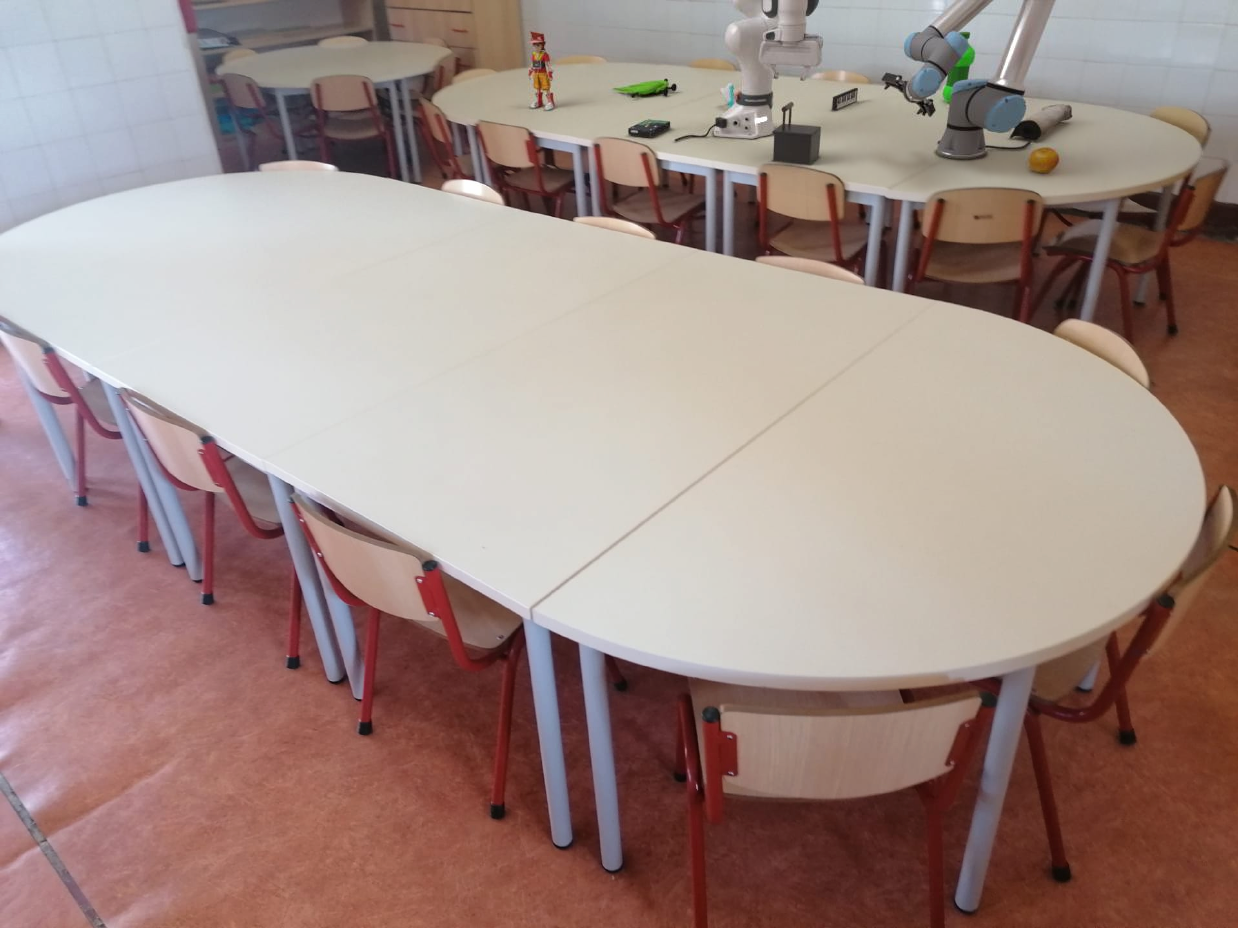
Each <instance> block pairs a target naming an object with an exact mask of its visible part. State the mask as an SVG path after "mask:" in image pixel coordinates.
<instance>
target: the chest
mask: <svg viewBox="0 0 1238 928" xmlns="http://www.w3.org/2000/svg"><path fill="white" fill-rule="evenodd" d="M821 134H822V129H821V130H819V131H818V132H817V133H816V134H814V135H813V136H812V137H807V136H795V135H783V134H773V151H772V152H773V153H772V162H779V163H780V162H781V163H786V164H787V163H788V164H799V165H810V166H811V164H813V162H814V161H816V160H817V159H818V158H820V146H821Z"/></svg>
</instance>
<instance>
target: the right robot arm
mask: <svg viewBox="0 0 1238 928" xmlns="http://www.w3.org/2000/svg"><path fill="white" fill-rule="evenodd" d="M993 1H994V0H955V1H953V3H952V4H951V5H950V6H948V8H946V9H945V10H944V11H943V12H942V13H941V14H940V15H939V16H937V18H936V19H934V20H933V21H932V22H931V23H930V24H929V25H928V26H927V27H926V28H924V29H923V30H922V31H915V32H912V33H910V34H909V35H908V36H907V38H906V39H905V41H904V44H903V52H904V55H905V56H906V57H907V58H909V59H911V60H913V61H916V62H921V63H924V64H923V65H922V66H921V68H919V71H918V72H917V73H916V74H914V76H912V77H911V78H910V79H908V80H903V75H901V74H894V73H891V72H885V74H884V75H883V76H882V78H881V81H882V82H884V84H885V86H884V88H883V89H884V90H888V89H889V88H894V89H896V90H897V91H899V93H901V94H902V95H903V98H904V99H905V100H906V101H907V102H908V103H910V104H915V105H917V106H918V107H919V109H918V110H917V111H916V115H918V116H919V115H922V116H923V117H925V116H926V114H927V116H928V117H929V118H932V116H933V115H934V114H935V112H937V110H936V107H935V104H934V99H932V98H930V97H932V96H933V95H935V94H936V93H937V92H938V91H939V89H940V87H941V85H942V83H943V82H944V81H945V80H946V79H947V77H948V74H949V73H950V71H951V70H952V69H953V68H954V67H955V65H956V64H957V63H958V62H959V60H960V59H962V56H963V55H964V54H965V52H966V51H967V49H968V48H969V44H970V43H969V40H968V41H967V40H966V38H965V37H963V36H962V35H961V34H959V32H961V30H963V28H965V27H966V26H967V25H968V24H969V23H970V22H972V20H974V19H975V17H977V16H978V15H979V14H981V12H982V11H983V10H984V9H986V8H987V7H988V6H989V5H990V4H991V3H992V2H993ZM1056 1H1057V0H1023V1H1022V4H1021V6H1020V9H1019V12H1018V14H1017V17H1016V20H1015V22H1014V25H1013V28H1012V30H1011V33H1010V35H1009V38H1008V41H1007V43H1006V46H1005V49H1004V51H1003V54H1002V57H1001V60H1000V62H999V65H998V67H997V70H996V73H995V75H994V76H993V77H991V78H990V79H989V78H968V80H961V81H957V82H956V83H955V84H954V85H953V88H952V92H951V98H950V103H949V106H948V113H947V119H946V127H945V130H944V133H943V134H942V136H941V139H939V140H938V141H937V143H936V144H937V149H936V153H937V154H938V155H939V156H940V157H943V158H947V159H953V160H974V159H980V158H982V157H984V156H985V155H986V150H987V149H995V150H1010V151H1011V150H1013V151H1015V150H1022V149H1025V148H1027V147H1028V146H1029V145H1031V142H1032V141H1028V142H1026V144H1024V145H1021V146H1014V147H1013V146H998V145H997V146H996V145H988V144H986V139H985V132H984V129H985V130H987V131H988V132H992V133H997V134H1004V133H1008V132H1010V131H1012V130H1014V128H1015V127H1016V126H1017V125H1018V124H1019V123H1020V122H1021V121H1023V120H1024V117H1025V115H1026V113H1027V112H1026V111H1027V105H1026V103H1027V102H1026V100H1025V98H1024V95H1025V92H1026V87H1025V85H1024V81H1025V79H1026V76H1027V74H1028V72H1029V69H1030V67H1031V64H1032V62H1033V59H1034V56H1035V54H1036V52H1037V49H1038V46H1039V43H1040V41H1041V39H1042V36H1043V33H1044V31H1045V29H1046V25H1047V24H1048V21H1049V19H1050V17H1051V14H1052V11H1053V8H1054V6H1055V3H1056Z"/></svg>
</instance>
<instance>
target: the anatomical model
mask: <svg viewBox="0 0 1238 928" xmlns="http://www.w3.org/2000/svg"><path fill="white" fill-rule="evenodd" d="M734 90H735V87H734V85H733V84H732V82H728V83H727V85H726V86H725V87H721V88H720V89H719V91H720V94H721V96H722V98H723V100H724V101H725V102H726V103H727V105H728V106H729V108H730V107H732V106H733V105H734V104H735V103H736V93H737V91H735V92H734ZM741 90H742V89H740V90H738V91H741Z"/></svg>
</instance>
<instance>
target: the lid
mask: <svg viewBox="0 0 1238 928" xmlns="http://www.w3.org/2000/svg"><path fill="white" fill-rule="evenodd" d="M794 106H795V105H794V102H793V101H789V102H788V103H786V104H785V105H783V106H782V107H781V112H782V123H781V124H780V125H779V126H777V127H776V128H774V130H773V131H772V134H771V135H774V134H783V135H795V136H807V137H812V136H813V135H814V134H816V133H817V132H818V131H819V130H821V131H822V126H820V125H819V126H818V125H807V124H806V125H805V124H792V110H793V107H794ZM787 112H788V123H786V117H787V116H786V115H787Z"/></svg>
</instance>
